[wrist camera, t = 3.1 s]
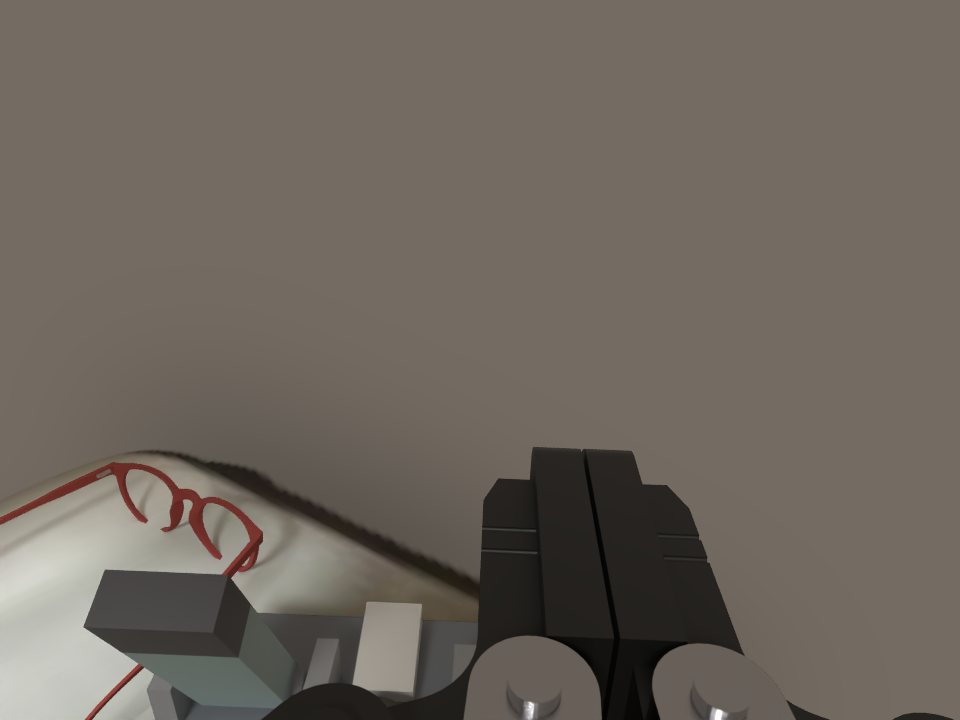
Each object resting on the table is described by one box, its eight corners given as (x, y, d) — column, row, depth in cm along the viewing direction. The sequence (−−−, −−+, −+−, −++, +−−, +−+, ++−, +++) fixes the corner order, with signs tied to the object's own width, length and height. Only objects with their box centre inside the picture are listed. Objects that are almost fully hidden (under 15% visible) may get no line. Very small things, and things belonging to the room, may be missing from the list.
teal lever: (197, 708, 31) (70, 626, 21) (208, 666, 32) (92, 569, 22) (302, 712, 31) (226, 633, 21) (309, 670, 32) (240, 575, 22)
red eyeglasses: (296, 585, 45) (289, 526, 42) (63, 806, 32) (34, 740, 30) (122, 498, 52) (107, 443, 49) (-125, 652, 39) (-161, 588, 37)
